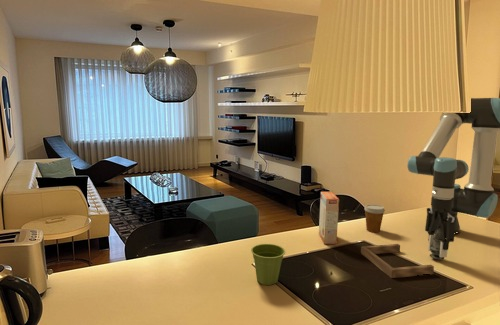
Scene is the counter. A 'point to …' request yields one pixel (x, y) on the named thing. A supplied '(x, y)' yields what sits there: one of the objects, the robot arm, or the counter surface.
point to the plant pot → (267, 262)
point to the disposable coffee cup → (374, 217)
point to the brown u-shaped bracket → (386, 268)
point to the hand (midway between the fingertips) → (437, 253)
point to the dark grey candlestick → (436, 245)
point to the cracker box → (328, 217)
